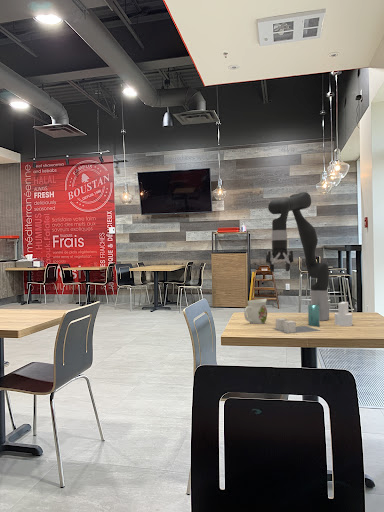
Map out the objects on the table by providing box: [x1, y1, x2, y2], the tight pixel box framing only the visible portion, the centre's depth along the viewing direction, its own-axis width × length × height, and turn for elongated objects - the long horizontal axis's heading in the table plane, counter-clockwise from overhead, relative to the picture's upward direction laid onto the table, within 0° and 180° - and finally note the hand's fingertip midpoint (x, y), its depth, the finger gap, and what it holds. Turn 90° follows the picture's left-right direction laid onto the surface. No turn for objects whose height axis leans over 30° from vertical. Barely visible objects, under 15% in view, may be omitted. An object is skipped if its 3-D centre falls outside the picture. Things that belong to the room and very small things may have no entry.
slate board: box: [272, 325, 321, 335], centre depth 211 cm, size 19×14×2 cm
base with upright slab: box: [334, 301, 353, 327], centre depth 230 cm, size 9×9×12 cm
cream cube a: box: [284, 320, 297, 334], centre depth 205 cm, size 4×4×5 cm
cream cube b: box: [275, 317, 288, 331], centre depth 213 cm, size 4×4×5 cm
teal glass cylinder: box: [307, 303, 321, 328], centre depth 222 cm, size 6×6×12 cm
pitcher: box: [243, 298, 268, 325], centre depth 233 cm, size 11×18×14 cm, turn 131°
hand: (279, 271), depth 215 cm, fingers open, 8 cm apart
